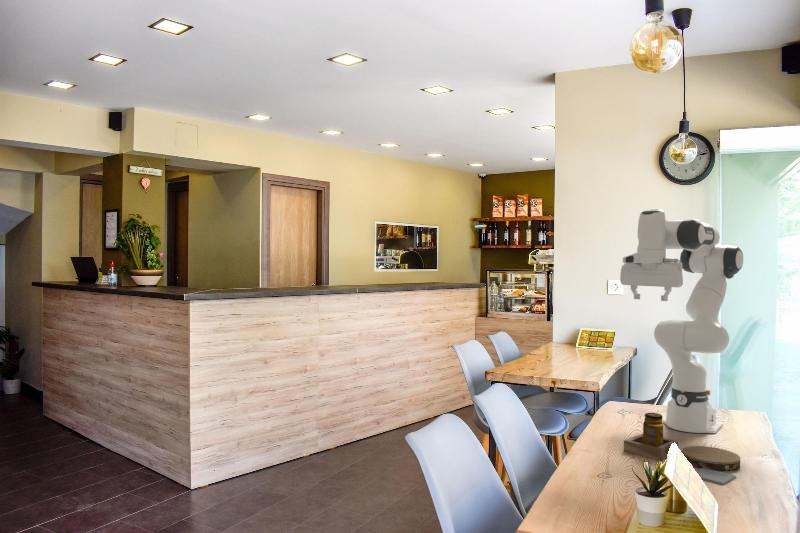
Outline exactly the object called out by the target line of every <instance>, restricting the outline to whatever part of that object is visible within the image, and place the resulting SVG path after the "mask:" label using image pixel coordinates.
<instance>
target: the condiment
mask: <svg viewBox="0 0 800 533" xmlns="http://www.w3.org/2000/svg"><path fill="white" fill-rule="evenodd" d="M643 420H644V421H643V422H642V423H643V425H642V434H643V444H646V445H651V446H655V447H658V446H661V445H663V438H664V427H665V426H664V425H665V424H664V423H663V415H662V414H660V413H657V412H646V413H644V419H643Z"/></svg>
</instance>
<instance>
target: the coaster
mask: <svg viewBox="0 0 800 533" xmlns="http://www.w3.org/2000/svg"><path fill="white" fill-rule="evenodd" d="M696 471H697V473H698V474H699V476H700V477H701V478H702V479H703V481H706V482H709V483H714V484H717V485H720V486H721V485H722V486H724V485H726V484H727V483H730V482H731V481H734V479H737V475H734V474H731V473H726V472H720V471H716V470H712V469H708V468H704V467H703V468H701V469H700V468H698V469H697V470H696ZM702 479H701V480H702Z"/></svg>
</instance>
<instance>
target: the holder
mask: <svg viewBox="0 0 800 533" xmlns="http://www.w3.org/2000/svg"><path fill="white" fill-rule="evenodd" d="M674 442H675V443H676V444H677V446H678V447H679V441H677V440H673V439H668V438H665V437H663V445H661V446H658V447H655V446H651V445H646V444H643V433H640V434H637V435H635V436H633V437H630V438H627V439H624V440H623V452H625V453H627V454H628V453H629V454H632V455H637V456H639V457H644V458H647V459H651V460H652V459H653V460H655V461H662V460H663V459H666V458H668V457H667V454H668V451H669V448H670V446H671V444H672V443H674Z"/></svg>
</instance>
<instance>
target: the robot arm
mask: <svg viewBox="0 0 800 533" xmlns="http://www.w3.org/2000/svg"><path fill="white" fill-rule="evenodd" d="M637 222H638V224H637V240H638V245H637V248H636V252H635V253H633V254H629V255H626V256H624V257H622V263H623V265H622V266H621V269H620V275H619V276H620V277H619V280H620V281H619V282H620V283H621V285H623V286H630V291H631V292H632V294H633V300H640V299H641V293H638V290H637V289H638V286H639V287H657V288H658V287H659V288H660V287H662V288H664V291H665V292H664V294H663V295H660V301H661V302H667V301H668V299H669V298H668V296H669V295H670V294H671V292H672V288H681V287H682V286H683V284H684V279H683V277H684V276H683V271H685V272H688V273H692V274H695V273H698V274H702V276H701V277H700V279H698V281H697V282H696V284H695V286H694V288H693V289H692V292H691V294H690V296H689V297H688V298H689V299H688V300H687V303H686V305H685V311H686V313H687V315H688V316H689V317H690V318H691V319H692V320H677V319H669V320H667V319H666V320H662V321H659V322H658V323H657V324H656V326H655V328H654V331H653V332H654V333H653V337H654V340H655V342H656V344H657V345H658V346H659V347H660V348H661V349H663V350H664V352H665V353H666V355H667V358H668V359H669V362H670V364H671V369H672V371H671V372H672V387H671V389H670V390H671V391H670V398H671V399H670V400H668V402H667V408H666V418H665V419H662V421H663V422H662V423H663V425H666V426H667V427H668V428H670V429H673V430H676V431H680V432H685V433H695V434H697V433H698V434H703V433H704V434H716V433H717V432H718V431H719V430H720V429H721V428H722V427H723V422H721V421H718V420H717V419H716V418H717V413H716V412H717V411H716V410H717V409H715V407H714V406H713V405H712V404H711V403H710V402H709V396H711V390H710V389H707V371H706V368H705V367H704V365H702V364H701V363H700V362H698V361H697V360H695V358H694V357H693V355H692V352H693V353H701V354H707V355H708V354H720V353H723V352H724V351H725V350H726V349H727V348H728V346H729V343H730V336H729V333H728V331H727V329H726V328H725V327H724V326H723V325H722V324H721V323H720V322H719V319H718V318H719V317H718V316H719V313H720V310H721V307H722V304H723V303H724V299H725V296H726V293H727V286H728V283H727V280H730V279H733V277H734V276H735V275H736V274H738V273H739V272H740V271H741V269H742V267H743V266H744V265H743V264H744V253H743V251H742V250H741V248H740V247H739V246H736V245H731V244H730V245H722V244H719V241H720V232H719V231H718V229H717V228H716V227H714V226H713V225H711V224H709V223H707V222H702V221H700V220H699V219H696V218H691V219H677V220H675V219H674V220H672V219H671V220H668V219H666V214H665V210H663V209H646V210H644V211H641V212H640V213H639V217H638V221H637ZM667 250H682V251H681V252H680V255H679V256H680V257H679V259H678V258H666V257H667V255H666V253H667Z"/></svg>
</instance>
